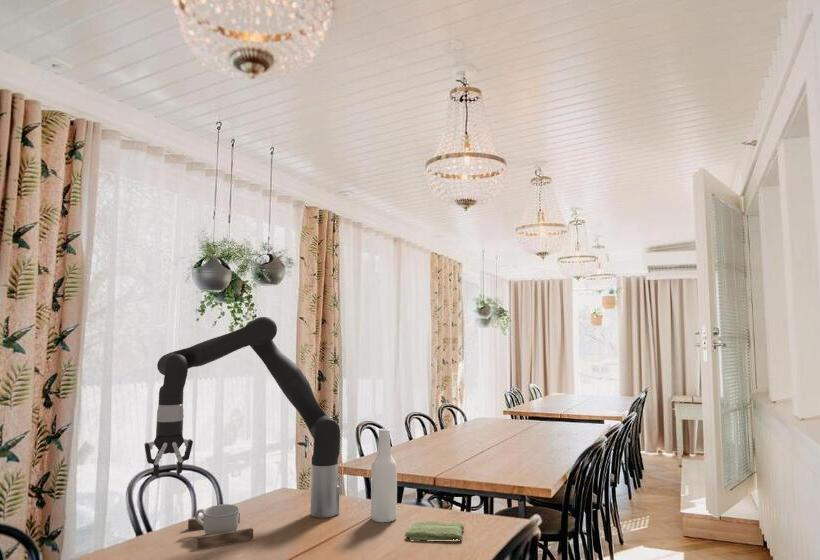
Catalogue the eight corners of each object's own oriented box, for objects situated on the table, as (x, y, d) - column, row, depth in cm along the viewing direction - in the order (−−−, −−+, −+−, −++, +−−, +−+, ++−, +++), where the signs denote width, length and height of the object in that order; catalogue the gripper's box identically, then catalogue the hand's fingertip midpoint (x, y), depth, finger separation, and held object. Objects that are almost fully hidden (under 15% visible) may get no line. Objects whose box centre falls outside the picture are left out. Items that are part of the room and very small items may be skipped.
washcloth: (410, 528, 187) (410, 518, 187) (464, 530, 184) (464, 520, 185) (404, 542, 174) (404, 531, 174) (462, 545, 171) (462, 534, 172)
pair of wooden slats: (238, 521, 192) (238, 512, 192) (253, 539, 175) (253, 529, 175) (187, 529, 184) (188, 519, 185) (197, 548, 167) (198, 538, 167)
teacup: (245, 531, 182) (246, 505, 183) (224, 543, 172) (224, 515, 172) (209, 527, 186) (210, 501, 187) (186, 538, 176) (187, 511, 177)
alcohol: (381, 524, 189) (381, 432, 192) (365, 518, 195) (366, 428, 199) (402, 519, 194) (402, 429, 197) (386, 513, 201) (387, 426, 204)
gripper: (192, 416, 182) (190, 471, 180) (143, 419, 175) (140, 476, 174) (196, 419, 176) (194, 476, 174) (145, 422, 169) (142, 481, 167)
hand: (167, 475), depth 174 cm, fingers open, 5 cm apart
